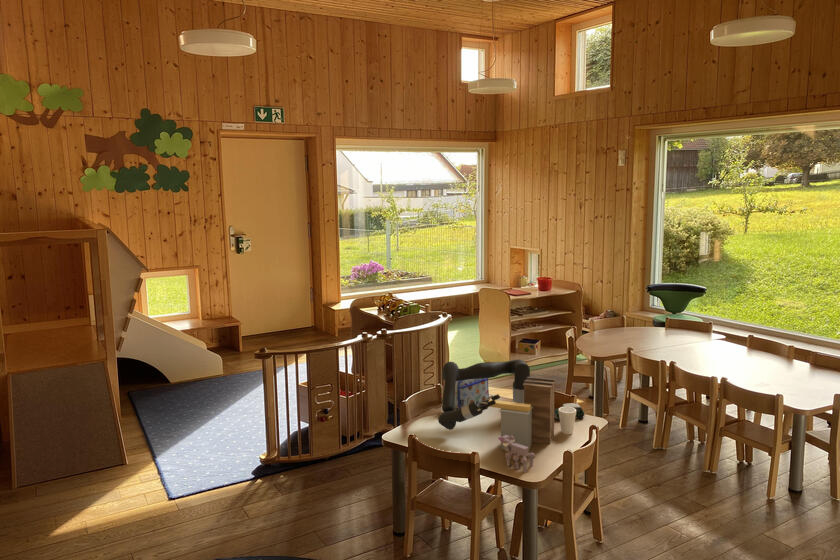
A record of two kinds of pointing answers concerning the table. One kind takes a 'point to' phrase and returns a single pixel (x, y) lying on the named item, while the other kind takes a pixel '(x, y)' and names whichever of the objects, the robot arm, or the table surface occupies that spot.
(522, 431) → the grey upright carton
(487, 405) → the robot arm
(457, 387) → the lunch box
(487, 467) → the table surface
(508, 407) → the slat
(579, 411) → the miniature car
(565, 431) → the foam cup
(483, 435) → the table surface
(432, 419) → the table surface
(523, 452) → the toy sheep
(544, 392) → the cabinet
